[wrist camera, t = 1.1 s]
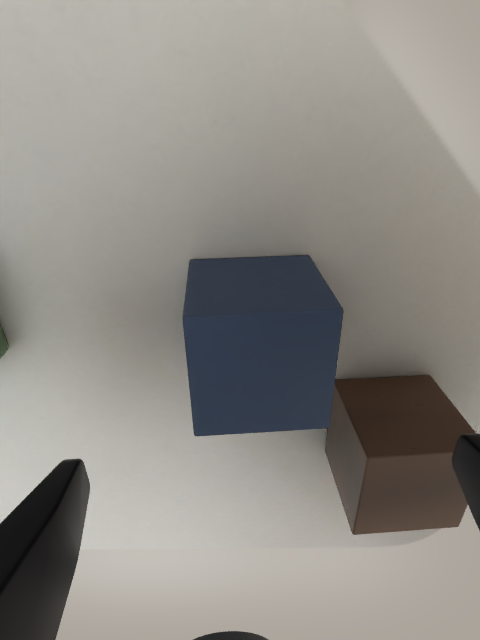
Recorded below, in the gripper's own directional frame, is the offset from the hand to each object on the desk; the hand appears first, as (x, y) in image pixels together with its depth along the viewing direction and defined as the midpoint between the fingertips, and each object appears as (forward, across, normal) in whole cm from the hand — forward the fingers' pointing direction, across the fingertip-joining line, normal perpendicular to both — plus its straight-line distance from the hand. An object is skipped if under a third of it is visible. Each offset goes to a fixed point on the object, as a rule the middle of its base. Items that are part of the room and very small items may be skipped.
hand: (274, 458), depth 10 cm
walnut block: (+8, -6, +6) cm, 11 cm away
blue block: (+8, 0, 0) cm, 8 cm away
